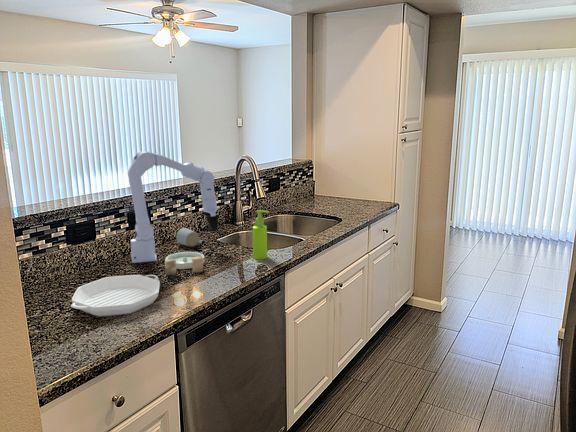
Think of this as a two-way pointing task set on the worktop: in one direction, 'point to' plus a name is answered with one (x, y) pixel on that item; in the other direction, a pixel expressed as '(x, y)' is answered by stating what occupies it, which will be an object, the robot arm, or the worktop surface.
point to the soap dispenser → (260, 237)
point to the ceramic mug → (188, 237)
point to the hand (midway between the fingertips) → (213, 228)
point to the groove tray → (184, 259)
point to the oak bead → (170, 266)
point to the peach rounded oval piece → (197, 264)
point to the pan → (116, 295)
